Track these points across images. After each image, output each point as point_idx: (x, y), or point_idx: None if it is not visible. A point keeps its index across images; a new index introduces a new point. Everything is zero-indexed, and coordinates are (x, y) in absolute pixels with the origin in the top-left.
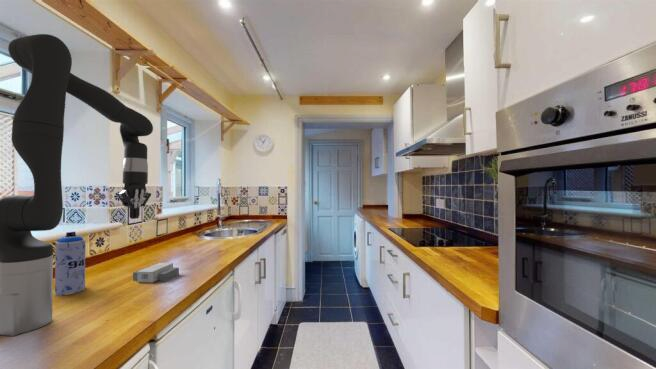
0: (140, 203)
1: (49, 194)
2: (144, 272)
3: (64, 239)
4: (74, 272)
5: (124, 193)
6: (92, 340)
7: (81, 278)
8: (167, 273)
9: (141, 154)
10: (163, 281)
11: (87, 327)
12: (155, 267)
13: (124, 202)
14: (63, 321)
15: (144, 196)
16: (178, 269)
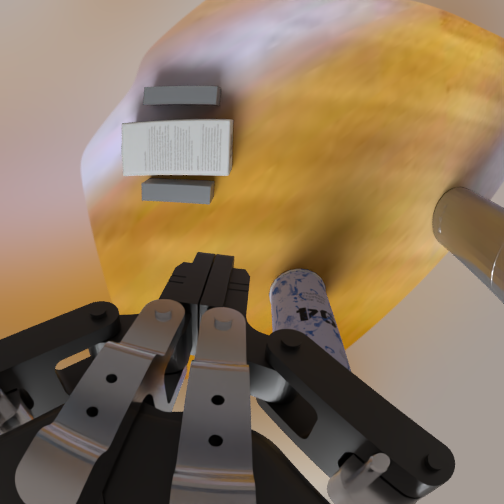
0: (140, 333)
1: None
2: (230, 148)
3: None
4: (322, 302)
5: (437, 475)
6: (493, 77)
7: (302, 286)
8: (203, 86)
9: None
10: (220, 92)
11: (468, 108)
12: (179, 145)
13: (313, 414)
14: (449, 168)
15: (22, 398)
16: (148, 87)
